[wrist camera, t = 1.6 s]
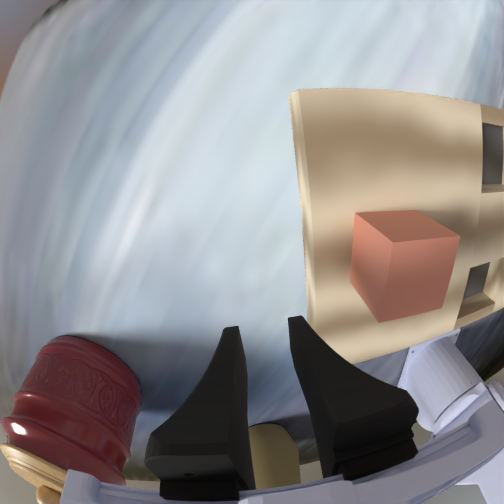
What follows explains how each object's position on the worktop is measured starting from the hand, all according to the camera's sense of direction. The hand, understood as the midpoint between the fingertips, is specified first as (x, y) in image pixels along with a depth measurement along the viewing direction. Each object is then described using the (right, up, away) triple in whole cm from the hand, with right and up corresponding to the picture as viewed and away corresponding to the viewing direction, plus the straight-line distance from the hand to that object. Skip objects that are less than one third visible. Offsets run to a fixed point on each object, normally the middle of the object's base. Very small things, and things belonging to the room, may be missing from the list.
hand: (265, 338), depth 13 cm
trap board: (+21, +7, +9) cm, 24 cm away
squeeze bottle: (+1, -20, +20) cm, 28 cm away
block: (+9, +4, +6) cm, 11 cm away
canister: (-19, -10, +14) cm, 25 cm away
